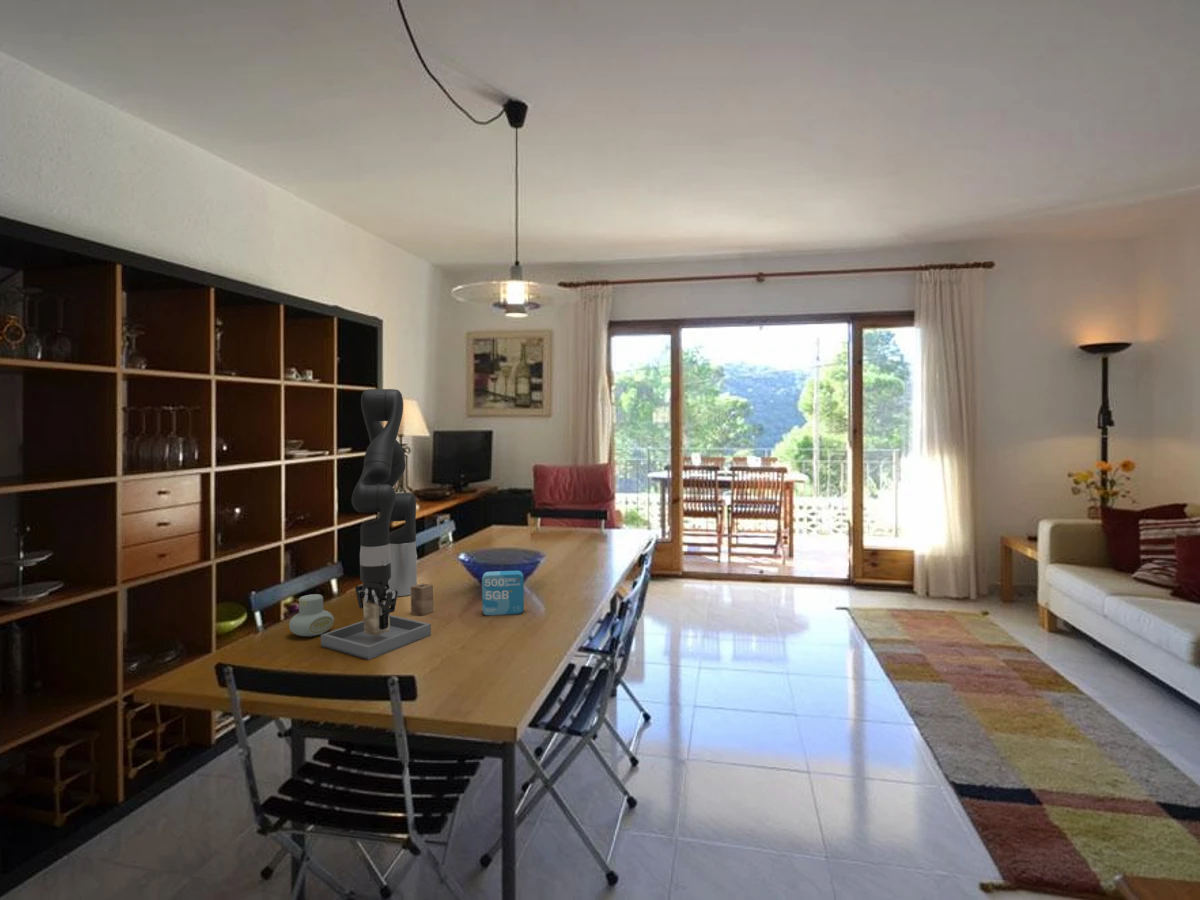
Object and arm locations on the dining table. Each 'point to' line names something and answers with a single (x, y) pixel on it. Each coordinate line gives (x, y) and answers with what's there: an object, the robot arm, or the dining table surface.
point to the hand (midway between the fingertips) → (377, 626)
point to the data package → (502, 593)
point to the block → (373, 619)
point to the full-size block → (421, 599)
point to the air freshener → (311, 617)
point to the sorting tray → (375, 638)
